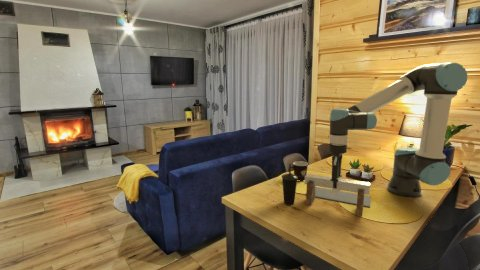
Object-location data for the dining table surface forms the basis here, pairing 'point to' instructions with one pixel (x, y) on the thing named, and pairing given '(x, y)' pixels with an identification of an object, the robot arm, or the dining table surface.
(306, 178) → the alu bar
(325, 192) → the grey flat panel
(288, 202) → the drinking cup
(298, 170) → the coffee mug
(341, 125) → the robot arm
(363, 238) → the dining table surface
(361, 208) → the walnut cradles
